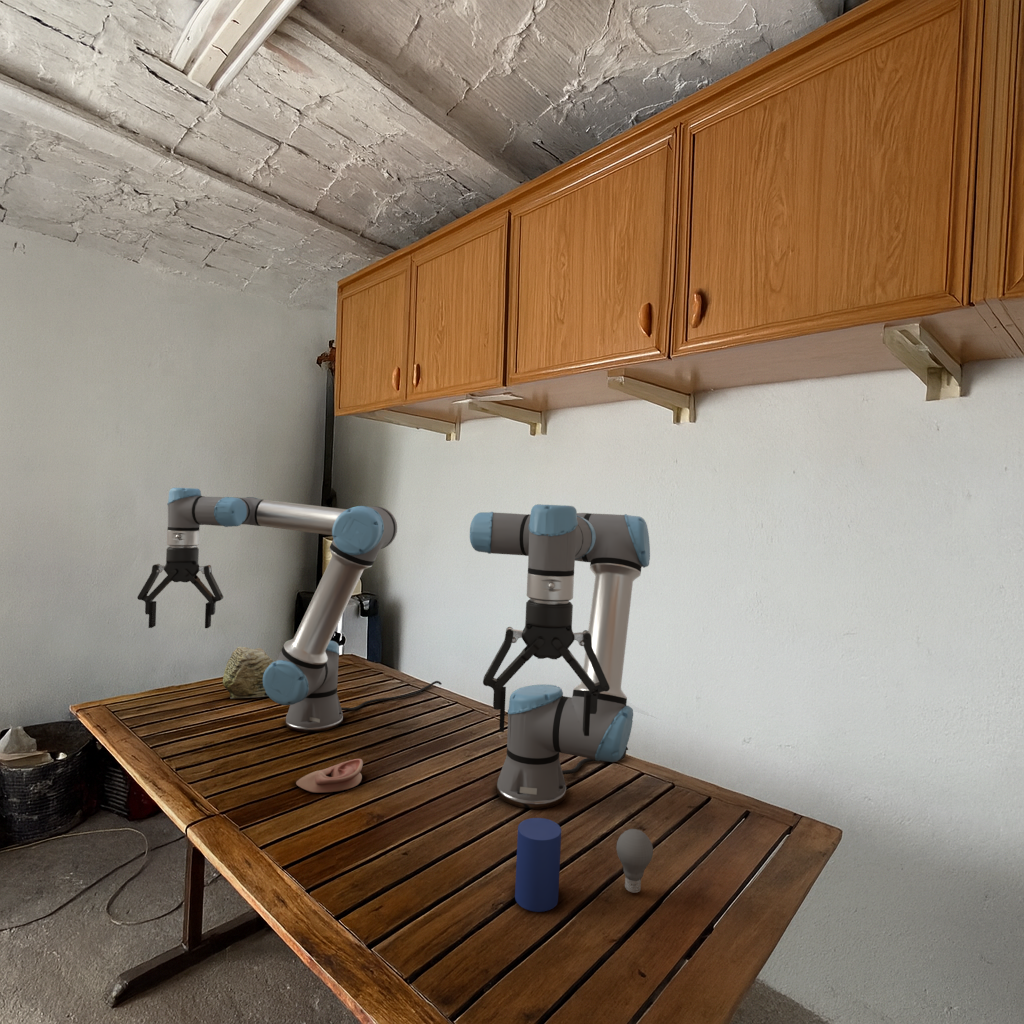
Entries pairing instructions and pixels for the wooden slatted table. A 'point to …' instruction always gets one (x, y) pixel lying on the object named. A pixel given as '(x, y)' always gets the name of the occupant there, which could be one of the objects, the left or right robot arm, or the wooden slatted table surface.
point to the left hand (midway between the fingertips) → (180, 627)
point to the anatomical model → (333, 777)
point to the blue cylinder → (538, 864)
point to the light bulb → (634, 857)
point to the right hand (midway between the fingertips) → (543, 731)
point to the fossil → (246, 673)
